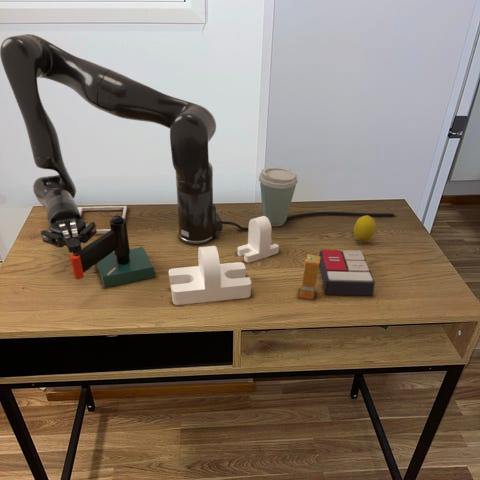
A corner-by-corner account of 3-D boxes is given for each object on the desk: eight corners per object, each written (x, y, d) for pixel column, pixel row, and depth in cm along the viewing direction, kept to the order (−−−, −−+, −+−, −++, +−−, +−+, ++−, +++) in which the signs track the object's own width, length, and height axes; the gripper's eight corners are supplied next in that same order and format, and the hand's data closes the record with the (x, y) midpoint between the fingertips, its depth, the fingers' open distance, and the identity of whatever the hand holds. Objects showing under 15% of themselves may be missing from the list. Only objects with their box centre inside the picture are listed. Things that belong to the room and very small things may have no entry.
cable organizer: (279, 252, 130) (282, 218, 124) (247, 263, 126) (248, 227, 119) (267, 243, 133) (270, 209, 127) (236, 253, 129) (237, 218, 123)
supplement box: (314, 300, 114) (319, 263, 108) (299, 298, 115) (304, 261, 108) (315, 292, 117) (321, 255, 110) (301, 290, 117) (305, 253, 111)
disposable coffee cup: (274, 209, 149) (278, 160, 140) (301, 222, 143) (307, 172, 134) (248, 220, 143) (251, 170, 134) (275, 234, 137) (279, 183, 128)
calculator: (363, 248, 125) (375, 280, 113) (360, 263, 128) (372, 295, 116) (319, 247, 125) (327, 278, 113) (317, 262, 128) (325, 294, 116)
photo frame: (63, 206, 145) (126, 205, 146) (64, 210, 145) (126, 208, 147) (53, 231, 133) (121, 229, 135) (54, 234, 134) (122, 233, 136)
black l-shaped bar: (121, 247, 120) (115, 210, 114) (133, 251, 119) (128, 214, 113) (71, 283, 108) (61, 243, 102) (83, 288, 107) (75, 248, 101)
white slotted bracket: (251, 297, 114) (253, 257, 108) (173, 305, 111) (170, 264, 105) (242, 274, 122) (244, 235, 115) (169, 281, 119) (165, 242, 112)
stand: (143, 256, 127) (141, 239, 124) (154, 277, 120) (152, 259, 117) (96, 266, 123) (93, 248, 120) (104, 287, 116) (101, 269, 113)
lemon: (349, 244, 134) (354, 217, 129) (354, 235, 138) (359, 209, 133) (370, 249, 133) (376, 222, 128) (374, 239, 137) (379, 213, 132)
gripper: (31, 206, 117) (40, 240, 105) (88, 197, 122) (103, 229, 109) (39, 234, 122) (48, 270, 110) (93, 224, 126) (108, 258, 114)
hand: (75, 250), depth 110 cm, fingers closed
